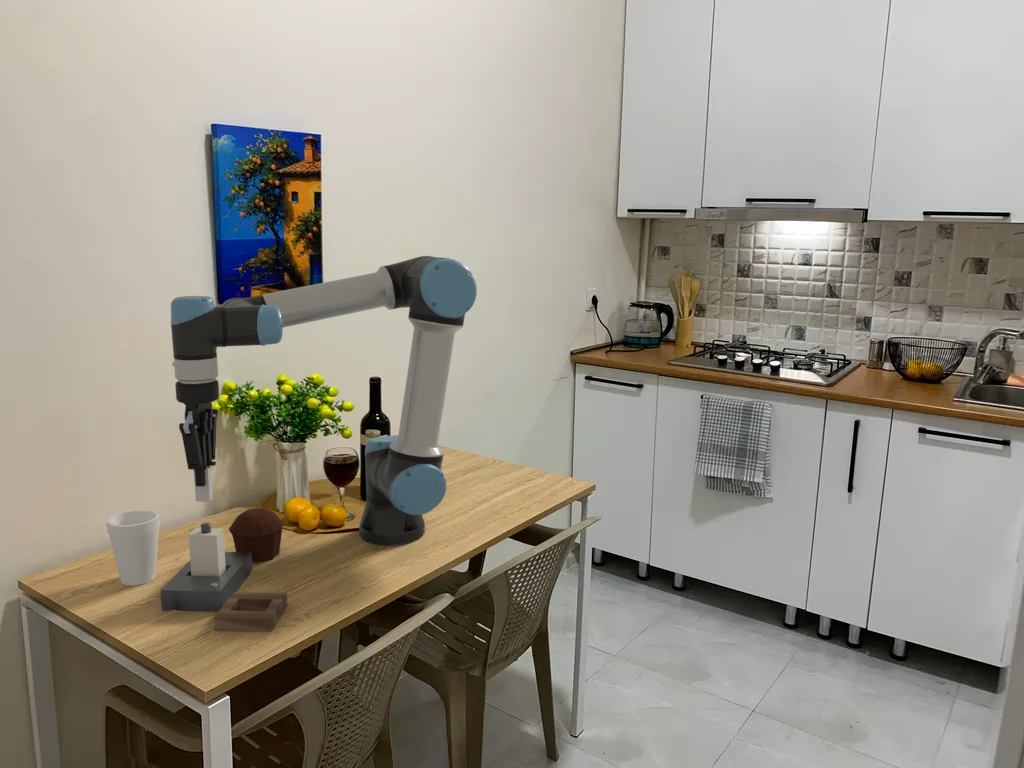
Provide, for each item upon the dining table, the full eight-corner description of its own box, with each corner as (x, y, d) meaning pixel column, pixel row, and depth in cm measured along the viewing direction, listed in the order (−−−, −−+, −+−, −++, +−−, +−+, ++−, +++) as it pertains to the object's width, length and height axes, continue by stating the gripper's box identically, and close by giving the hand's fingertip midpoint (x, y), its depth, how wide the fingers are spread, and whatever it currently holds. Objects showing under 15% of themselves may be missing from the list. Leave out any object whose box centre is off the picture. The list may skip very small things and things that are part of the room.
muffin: (238, 544, 181) (235, 502, 179) (288, 543, 182) (287, 501, 180) (224, 567, 169) (222, 521, 167) (278, 565, 171) (276, 520, 169)
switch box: (199, 569, 168) (198, 550, 167) (252, 570, 168) (251, 551, 167) (161, 610, 150) (160, 589, 150) (220, 611, 150) (219, 590, 149)
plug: (199, 585, 161) (195, 520, 158) (226, 585, 161) (223, 521, 158) (192, 593, 157) (188, 527, 155) (220, 593, 157) (216, 528, 155)
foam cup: (160, 586, 160) (155, 524, 158) (108, 591, 157) (102, 528, 155) (165, 566, 169) (161, 507, 166) (117, 571, 166) (112, 511, 164)
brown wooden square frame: (234, 604, 153) (233, 592, 153) (287, 605, 153) (286, 593, 153) (214, 630, 143) (214, 617, 143) (271, 631, 143) (270, 618, 143)
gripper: (190, 372, 157) (198, 488, 162) (161, 386, 145) (170, 511, 149) (229, 373, 157) (235, 489, 162) (203, 387, 144) (210, 512, 149)
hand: (204, 500), depth 156 cm, fingers closed
